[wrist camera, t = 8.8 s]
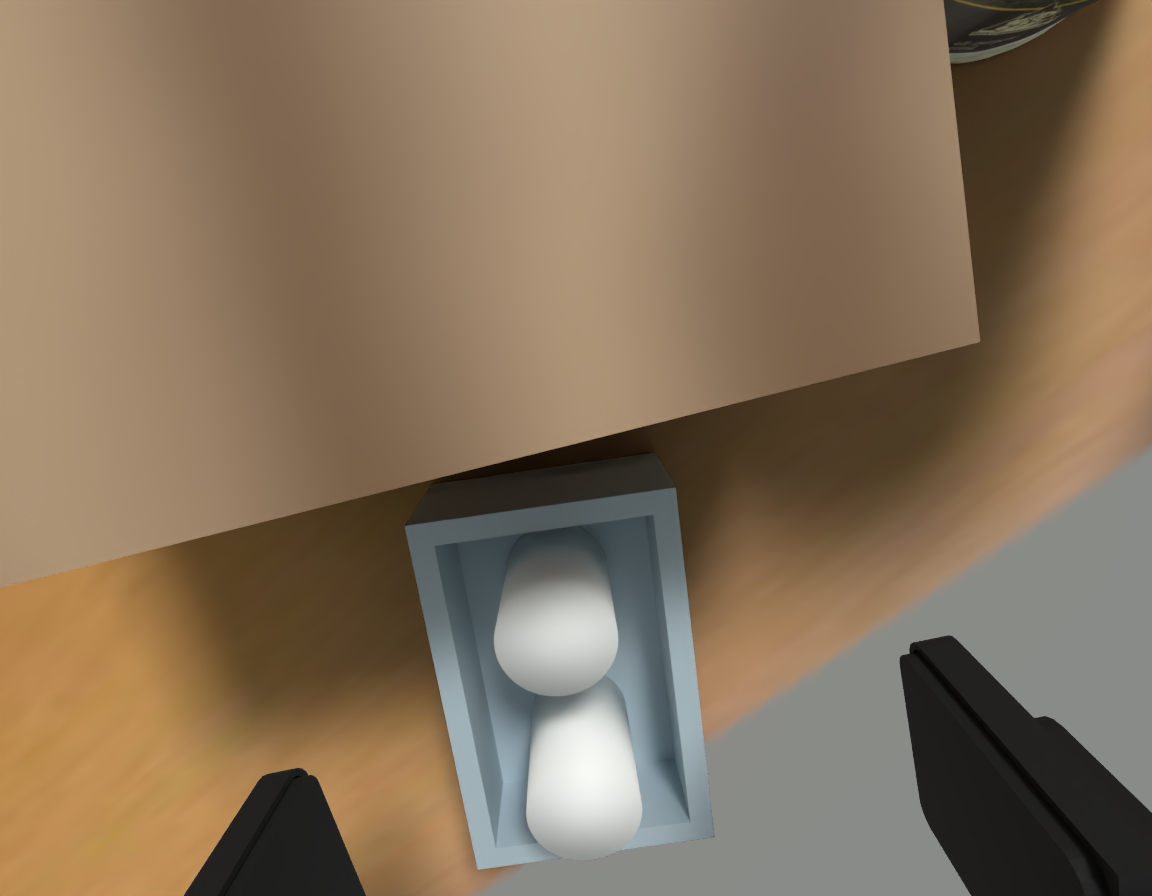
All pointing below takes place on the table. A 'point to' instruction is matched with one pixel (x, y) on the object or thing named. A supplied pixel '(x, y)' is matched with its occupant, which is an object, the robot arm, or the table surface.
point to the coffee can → (1000, 24)
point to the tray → (639, 661)
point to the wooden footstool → (439, 239)
